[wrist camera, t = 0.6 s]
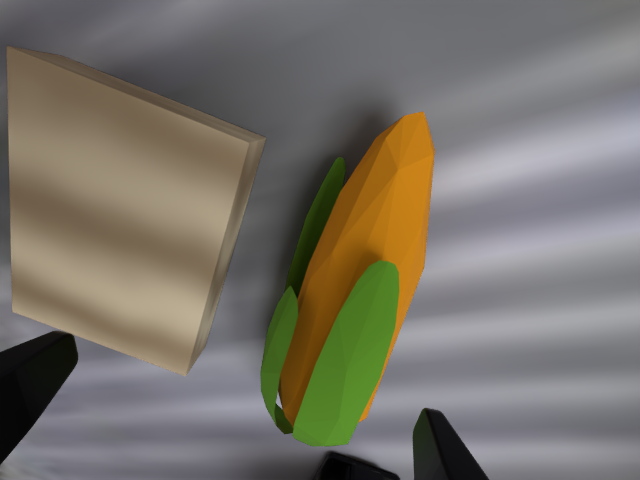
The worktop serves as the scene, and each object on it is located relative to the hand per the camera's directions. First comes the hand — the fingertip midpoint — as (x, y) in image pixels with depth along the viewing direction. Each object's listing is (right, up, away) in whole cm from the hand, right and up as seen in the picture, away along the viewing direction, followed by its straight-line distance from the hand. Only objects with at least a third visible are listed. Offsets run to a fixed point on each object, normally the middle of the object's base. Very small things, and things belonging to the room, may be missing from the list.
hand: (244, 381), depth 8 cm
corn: (+4, +2, +13) cm, 13 cm away
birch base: (-10, +5, +13) cm, 17 cm away
